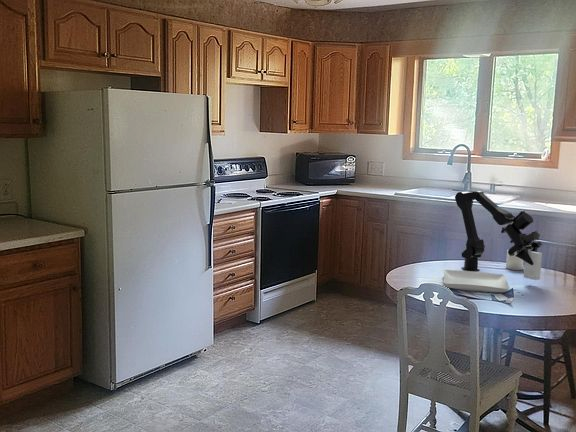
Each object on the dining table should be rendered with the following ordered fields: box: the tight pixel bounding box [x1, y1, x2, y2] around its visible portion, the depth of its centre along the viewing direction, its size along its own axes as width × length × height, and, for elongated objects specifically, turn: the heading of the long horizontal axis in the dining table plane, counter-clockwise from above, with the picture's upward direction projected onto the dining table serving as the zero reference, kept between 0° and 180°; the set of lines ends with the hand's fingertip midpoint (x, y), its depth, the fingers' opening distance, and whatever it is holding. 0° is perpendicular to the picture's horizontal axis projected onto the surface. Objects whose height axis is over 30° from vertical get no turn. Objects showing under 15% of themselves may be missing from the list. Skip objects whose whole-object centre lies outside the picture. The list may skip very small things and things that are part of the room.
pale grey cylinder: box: [505, 248, 524, 271], centre depth 300 cm, size 8×8×9 cm
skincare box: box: [523, 251, 543, 281], centre depth 266 cm, size 6×4×12 cm
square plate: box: [442, 269, 510, 293], centre depth 264 cm, size 27×27×4 cm
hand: (535, 264), depth 265 cm, fingers closed on skincare box, 4 cm apart
